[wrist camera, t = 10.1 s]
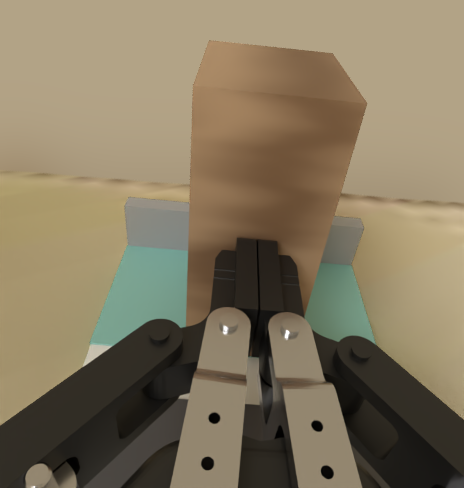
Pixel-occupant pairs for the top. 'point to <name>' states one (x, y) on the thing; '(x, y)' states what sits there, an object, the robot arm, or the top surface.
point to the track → (174, 308)
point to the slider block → (266, 157)
